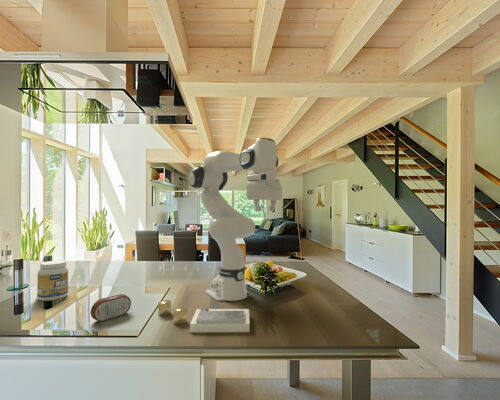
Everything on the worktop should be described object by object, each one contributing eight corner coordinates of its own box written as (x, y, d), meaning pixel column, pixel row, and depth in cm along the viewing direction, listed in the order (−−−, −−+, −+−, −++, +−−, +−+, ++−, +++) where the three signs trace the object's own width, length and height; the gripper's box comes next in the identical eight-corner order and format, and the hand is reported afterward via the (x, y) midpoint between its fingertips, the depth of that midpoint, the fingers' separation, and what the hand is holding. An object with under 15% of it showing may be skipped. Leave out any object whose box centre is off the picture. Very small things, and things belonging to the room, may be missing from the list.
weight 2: (170, 322, 109) (170, 308, 109) (182, 318, 112) (182, 305, 112) (177, 326, 105) (177, 312, 105) (189, 322, 109) (189, 309, 109)
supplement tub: (52, 302, 129) (52, 265, 130) (30, 300, 132) (30, 264, 132) (73, 294, 141) (74, 260, 142) (53, 292, 144) (53, 259, 144)
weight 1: (156, 314, 117) (156, 301, 117) (167, 310, 120) (167, 299, 120) (161, 317, 113) (161, 305, 113) (173, 314, 116) (173, 302, 117)
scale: (190, 332, 100) (190, 321, 100) (196, 316, 114) (196, 306, 114) (249, 332, 100) (249, 320, 100) (248, 316, 114) (249, 306, 114)
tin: (128, 311, 119) (128, 291, 119) (132, 313, 117) (132, 292, 117) (90, 323, 108) (90, 300, 108) (93, 325, 106) (93, 302, 106)
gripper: (273, 179, 126) (273, 210, 126) (244, 175, 110) (243, 211, 110) (285, 178, 122) (285, 210, 122) (256, 175, 106) (256, 211, 106)
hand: (265, 211), depth 116 cm, fingers open, 8 cm apart
